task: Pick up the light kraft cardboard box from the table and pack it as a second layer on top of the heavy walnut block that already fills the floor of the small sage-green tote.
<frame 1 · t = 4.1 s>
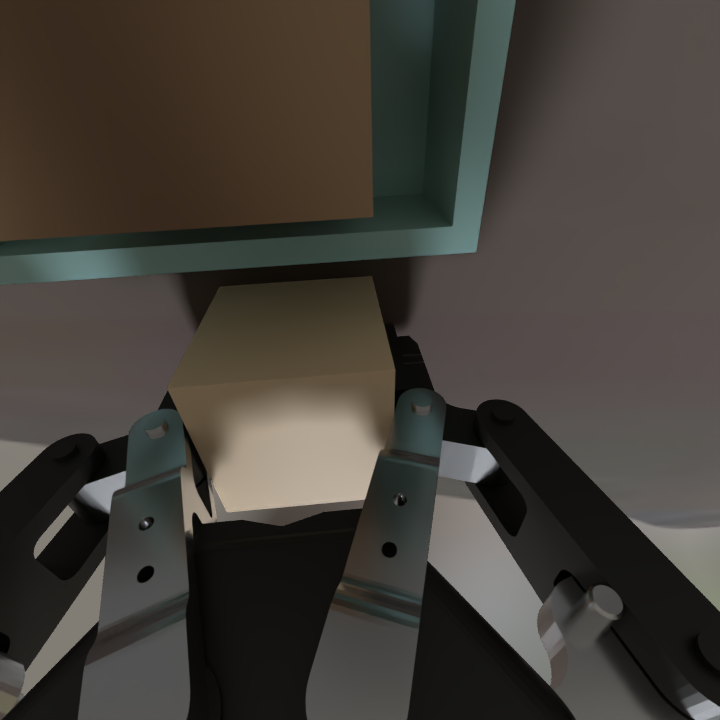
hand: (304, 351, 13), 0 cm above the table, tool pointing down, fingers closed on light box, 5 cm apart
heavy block: (199, 5, 7), point 1 cm above the table, touching tote
light box: (306, 343, 13), on the table, touching gripper
tote: (206, 9, 8), on the table
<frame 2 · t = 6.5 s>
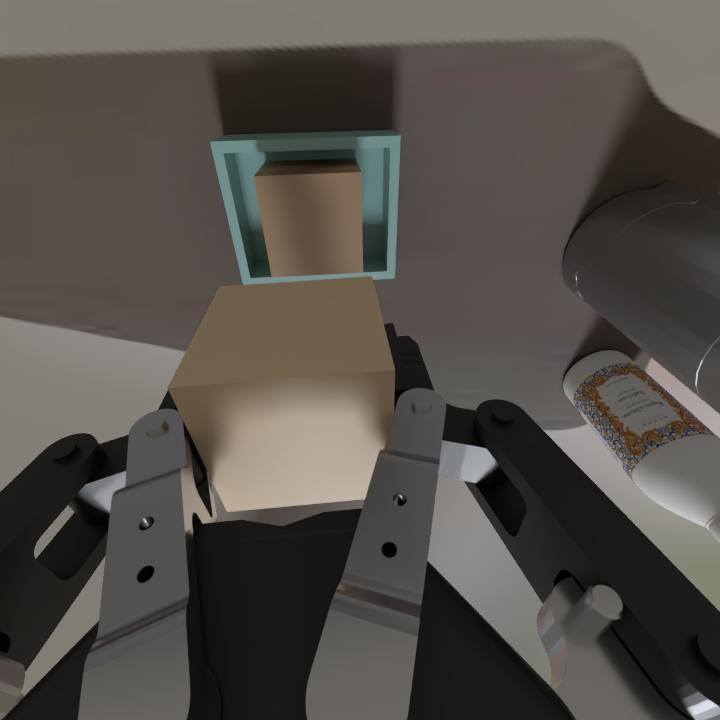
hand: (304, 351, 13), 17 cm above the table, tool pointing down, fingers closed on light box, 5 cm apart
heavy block: (315, 206, 26), point 1 cm above the table, touching tote
light box: (306, 343, 13), point 17 cm above the table, touching gripper
bath foam: (592, 372, 39), on the table
tote: (315, 204, 27), on the table
when the fingers open (7 cm above the table, at t = 8.9 s): light box drops 1 cm, resting on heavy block.
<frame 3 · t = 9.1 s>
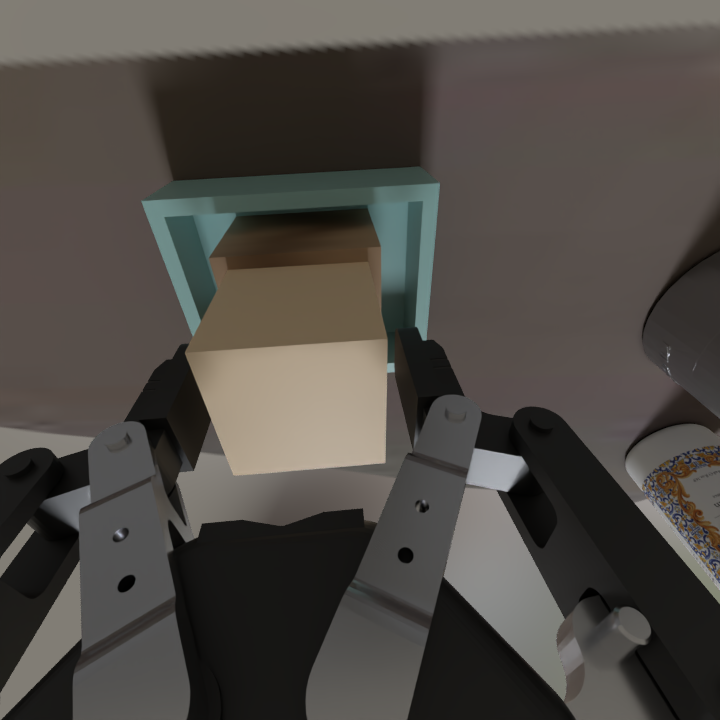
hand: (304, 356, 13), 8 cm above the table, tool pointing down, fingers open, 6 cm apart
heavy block: (310, 273, 18), point 1 cm above the table, touching light box, tote
light box: (306, 325, 14), point 6 cm above the table, touching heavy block
bath foam: (661, 446, 31), on the table
tote: (310, 269, 19), on the table
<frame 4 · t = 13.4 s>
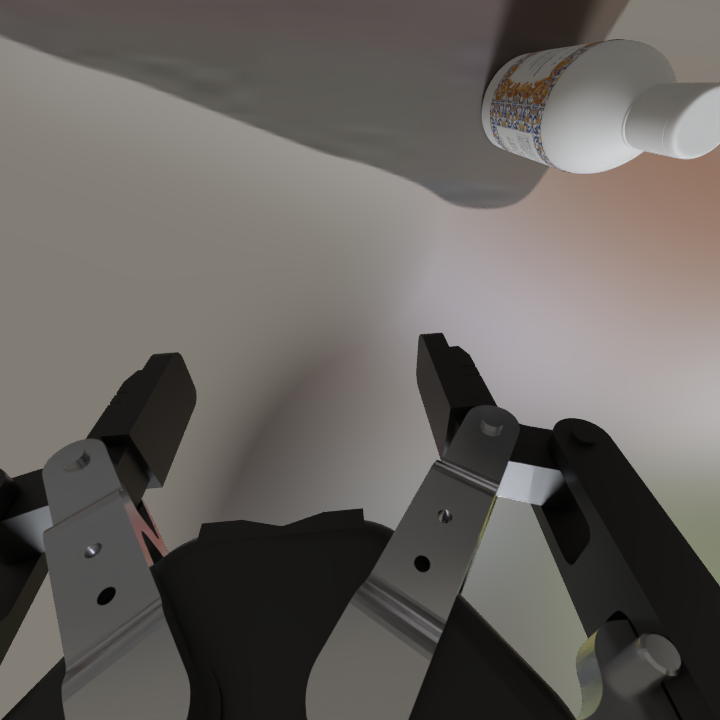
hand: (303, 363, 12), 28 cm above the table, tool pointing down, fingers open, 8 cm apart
bath foam: (517, 104, 32), on the table
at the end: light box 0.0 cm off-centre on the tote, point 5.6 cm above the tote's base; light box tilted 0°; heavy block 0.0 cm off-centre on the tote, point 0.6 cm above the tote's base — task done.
